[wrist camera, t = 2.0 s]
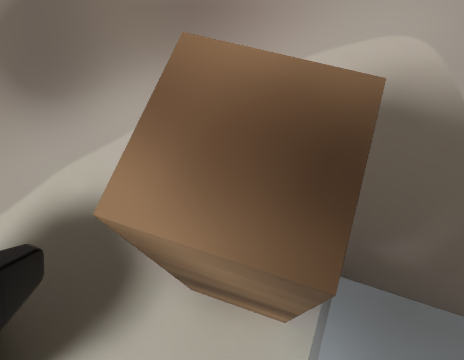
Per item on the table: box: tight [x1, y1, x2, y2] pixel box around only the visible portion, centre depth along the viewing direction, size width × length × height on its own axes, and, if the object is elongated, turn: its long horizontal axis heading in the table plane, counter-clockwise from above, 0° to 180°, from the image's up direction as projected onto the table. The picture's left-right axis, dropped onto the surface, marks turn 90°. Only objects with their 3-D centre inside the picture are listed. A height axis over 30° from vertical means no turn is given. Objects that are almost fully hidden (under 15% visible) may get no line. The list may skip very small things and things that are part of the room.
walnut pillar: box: [93, 32, 386, 323], centre depth 14 cm, size 5×5×13 cm
